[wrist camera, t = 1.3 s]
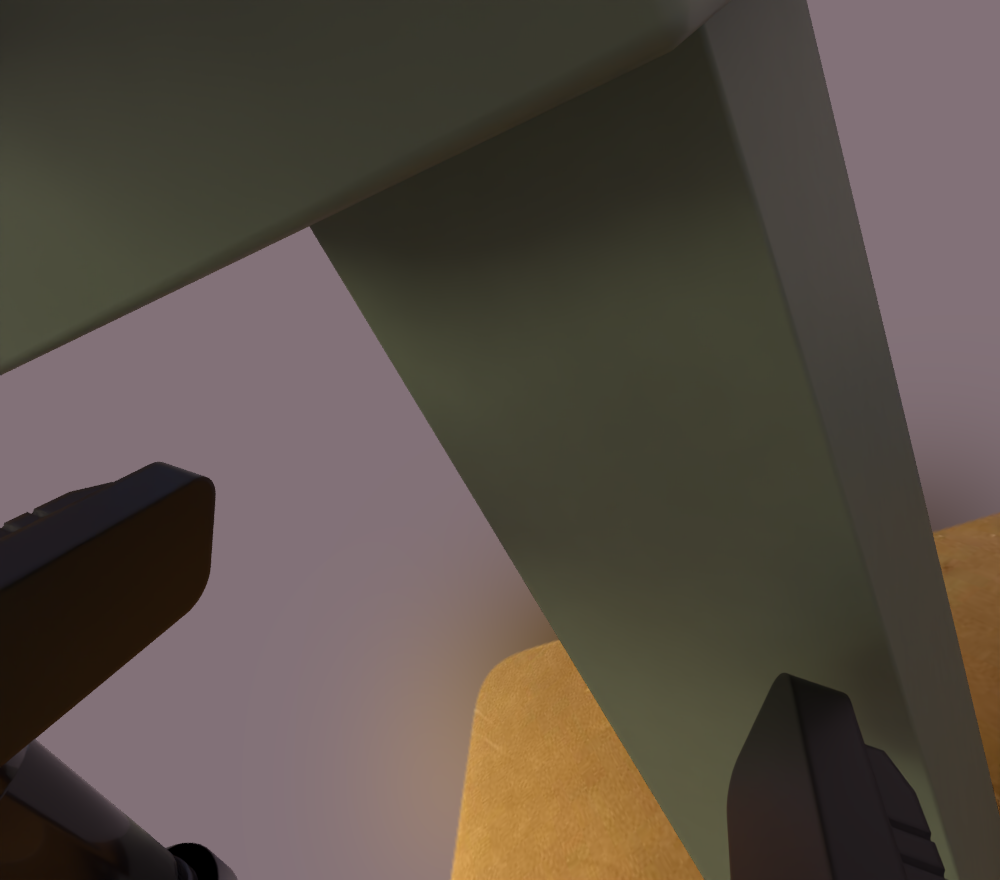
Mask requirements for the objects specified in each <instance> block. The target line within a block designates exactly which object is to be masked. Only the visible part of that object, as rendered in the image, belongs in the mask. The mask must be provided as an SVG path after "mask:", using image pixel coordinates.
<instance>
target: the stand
mask: <svg viewBox="0 0 1000 880" xmlns="http://www.w3.org/2000/svg"><path fill="white" fill-rule="evenodd" d="M308 226H310V228H311V229H312V231H313V233H314V235H315V236H316V238H317V239H318V241H319V243H320V245H321V246H322V248H323V249H324V251H325V253H326V254H327V256H328V258H329V259H330V261H331V263H332V264H333V266H334V268H335V269H336V271H337V273H338V274H339V276H340V278H341V279H342V281H343V283H344V284H345V286H346V288H347V289H348V291H349V292H350V294H351V296H352V297H353V299H354V301H355V302H356V304H357V306H358V307H359V309H360V310H361V312H362V314H363V316H364V317H365V319H366V321H367V322H368V324H369V326H370V327H371V329H372V330H373V332H374V334H375V335H376V337H377V339H378V340H379V342H380V344H381V345H382V347H383V348H384V350H385V352H386V354H387V355H388V357H389V359H390V360H391V362H392V363H393V365H394V367H395V368H396V370H397V372H398V374H399V375H400V377H401V378H402V380H403V382H404V383H405V385H406V387H407V388H408V390H409V392H410V393H411V395H412V397H413V398H414V400H415V402H416V403H417V405H418V407H419V408H420V410H421V411H422V413H423V415H424V417H425V418H426V420H427V421H428V423H429V425H430V426H431V428H432V430H433V431H434V433H435V435H436V436H437V438H438V440H439V441H440V443H441V445H442V446H443V448H444V449H445V451H446V453H447V455H448V456H449V458H450V460H451V461H452V463H453V464H454V466H455V467H456V469H457V471H458V473H459V474H460V476H461V478H462V479H463V481H464V483H465V484H466V486H467V487H468V489H469V491H470V493H471V494H472V496H473V498H474V499H475V501H476V503H477V504H478V505H479V507H480V509H481V511H482V512H483V514H484V516H485V517H486V519H487V521H488V522H489V524H490V526H491V527H492V529H493V531H494V532H495V534H496V536H497V537H498V539H499V541H500V542H501V544H502V545H503V547H504V549H505V550H506V552H507V554H508V555H509V557H510V559H511V560H512V562H513V564H514V565H515V567H516V569H517V570H518V572H519V574H520V575H521V577H522V579H523V580H524V582H525V584H526V585H527V587H528V588H529V590H530V592H531V594H532V595H533V597H534V598H535V600H536V602H537V603H538V605H539V607H540V608H541V610H542V612H543V613H544V615H545V616H546V618H547V620H548V621H549V623H550V625H551V626H552V628H553V630H554V631H555V633H556V635H557V636H558V638H559V640H560V641H561V643H562V645H563V646H564V648H565V650H566V651H567V653H568V655H569V656H570V658H571V660H572V661H573V663H574V665H575V666H576V668H577V670H578V671H579V673H580V675H581V676H582V678H583V680H584V681H585V683H586V684H587V686H588V688H589V689H590V691H591V693H592V694H593V696H594V698H595V699H596V701H597V703H598V704H599V706H600V708H601V709H602V711H603V713H604V714H605V716H606V718H607V719H608V721H609V723H610V724H611V726H612V727H613V729H614V731H615V732H616V734H617V736H618V737H619V739H620V741H621V742H622V744H623V746H624V747H625V749H626V751H627V752H628V754H629V756H630V757H631V759H632V761H633V762H634V764H635V766H636V767H637V769H638V770H639V772H640V774H641V775H642V777H643V779H644V780H645V782H646V784H647V785H648V787H649V789H650V790H651V792H652V794H653V795H654V797H655V799H656V800H657V802H658V804H659V805H660V807H661V809H662V810H663V812H664V813H665V815H666V817H667V818H668V820H669V822H670V823H671V825H672V827H673V828H674V830H675V832H676V833H677V835H678V837H679V838H680V840H681V842H682V843H683V845H684V847H685V848H686V850H687V852H688V853H689V855H690V856H691V858H692V860H693V861H694V863H695V865H696V866H697V868H698V870H699V871H700V873H701V875H702V876H703V878H704V880H731V879H730V862H729V846H728V829H727V796H728V789H729V784H730V779H731V775H732V771H733V768H734V765H735V763H736V760H737V758H738V756H739V754H740V751H741V749H742V747H743V745H744V743H745V741H746V739H747V737H748V734H749V732H750V730H751V728H752V726H753V724H754V722H755V720H756V718H757V715H758V713H759V711H760V709H761V707H762V705H763V703H764V701H765V698H766V696H767V694H768V692H769V690H770V688H771V686H772V684H773V682H774V681H775V679H776V678H777V677H778V675H780V674H781V673H788V674H791V675H794V676H797V677H800V678H803V679H806V680H808V681H811V682H814V683H817V684H820V685H823V686H826V687H829V688H832V689H835V690H838V691H841V692H844V693H846V694H847V695H848V697H849V698H850V700H851V703H852V706H853V709H854V712H855V715H856V718H857V721H858V725H859V728H860V731H861V734H862V737H863V740H864V743H865V744H866V745H869V746H872V747H875V748H878V749H881V750H884V751H885V752H886V754H887V755H888V756H889V758H890V759H891V760H892V762H893V763H894V764H895V766H896V767H897V768H898V769H899V771H900V772H901V773H902V775H903V776H904V777H905V779H906V780H907V781H908V783H909V784H910V785H911V786H912V788H913V789H914V790H915V792H916V794H917V797H918V799H919V802H920V805H921V807H922V810H923V813H924V815H925V818H926V820H927V823H928V826H929V828H930V831H931V838H930V839H931V841H932V842H935V844H936V847H937V849H938V852H939V855H940V857H941V860H942V863H943V865H944V868H945V873H944V878H945V879H948V880H1000V816H999V812H998V808H997V804H996V799H995V795H994V791H993V787H992V782H991V778H990V774H989V770H988V766H987V761H986V757H985V753H984V749H983V744H982V740H981V736H980V732H979V727H978V723H977V719H976V715H975V711H974V706H973V702H972V698H971V694H970V689H969V685H968V681H967V677H966V673H965V668H964V664H963V660H962V656H961V651H960V647H959V643H958V639H957V635H956V630H955V626H954V622H953V618H952V613H951V609H950V605H949V601H948V597H947V592H946V588H945V584H944V580H943V575H942V571H941V567H940V563H939V559H938V554H937V550H936V546H935V542H934V537H933V533H932V529H931V525H930V521H929V516H928V512H927V508H926V504H925V500H924V495H923V491H922V487H921V483H920V478H919V474H918V470H917V466H916V461H915V457H914V453H913V449H912V445H911V440H910V436H909V432H908V428H907V423H906V419H905V415H904V411H903V406H902V402H901V398H900V394H899V390H898V385H897V381H896V377H895V373H894V368H893V364H892V360H891V356H890V352H889V347H888V344H887V339H886V335H885V331H884V326H883V322H882V318H881V314H880V310H879V305H878V301H877V297H876V293H875V288H874V284H873V280H872V275H871V271H870V267H869V263H868V259H867V255H866V250H865V246H864V242H863V237H862V233H861V229H860V225H859V221H858V216H857V212H856V209H855V204H854V199H853V195H852V191H851V187H850V183H849V178H848V174H847V170H846V166H845V161H844V157H843V153H842V149H841V145H840V140H839V136H838V132H837V128H836V124H835V119H834V115H833V111H832V107H831V102H830V98H829V94H828V90H827V85H826V81H825V77H824V73H823V68H822V65H821V60H820V56H819V52H818V47H817V43H816V39H815V35H814V31H813V26H812V22H811V18H810V14H809V10H808V5H807V1H806V0H0V375H2V374H4V373H6V372H8V371H11V370H13V369H15V368H17V367H19V366H21V365H23V364H25V363H27V362H29V361H31V360H33V359H35V358H37V357H39V356H42V355H44V354H46V353H48V352H50V351H52V350H54V349H56V348H58V347H60V346H62V345H64V344H66V343H68V342H71V341H73V340H75V339H77V338H79V337H81V336H83V335H85V334H87V333H89V332H91V331H93V330H95V329H97V328H100V327H102V326H104V325H106V324H108V323H110V322H112V321H114V320H116V319H118V318H120V317H122V316H124V315H126V314H128V313H131V312H133V311H135V310H137V309H139V308H141V307H143V306H145V305H147V304H149V303H151V302H153V301H155V300H157V299H159V298H162V297H163V296H166V295H168V294H169V293H172V292H174V291H176V290H178V289H180V288H182V287H184V286H186V285H188V284H190V283H193V282H195V281H197V280H199V279H201V278H203V277H205V276H207V275H209V274H211V273H213V272H215V271H217V270H219V269H221V268H223V267H225V266H228V265H230V264H232V263H234V262H236V261H238V260H240V259H242V258H244V257H246V256H248V255H251V254H253V253H255V252H257V251H258V250H261V249H263V248H265V247H267V246H269V245H271V244H273V243H275V242H277V241H279V240H282V239H283V238H286V237H288V236H290V235H292V234H294V233H296V232H298V231H300V230H302V229H304V228H306V227H308Z"/></svg>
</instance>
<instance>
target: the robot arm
mask: <svg viewBox="0 0 1000 880" xmlns="http://www.w3.org/2000/svg"><path fill="white" fill-rule="evenodd" d="M214 511H215V487H214V484H213V482H212V480H210V479H209V478H207V477H204V476H201V475H199V474H196V473H193V472H190V471H187V470H184V469H181V468H178V467H175V466H172V465H169V464H166V463H163V462H155V463H152V464H150V465H147V466H145V467H143V468H142V469H140V470H138V471H135V472H133V473H131V474H129V475H127V476H125V477H123V478H121V479H120V480H118V481H115V482H111V483H106V484H102V485H98V486H94V487H89V488H85V489H80V490H76V491H72V492H69V493H66V494H64V495H62V496H60V497H58V498H56V499H54V500H52V501H50V502H48V503H45V504H43V505H41V506H39V507H37V508H35V509H34V511H33V513H32V514H30V513H28V512H27V513H24V514H22V515H20V516H18V517H16V518H14V519H12V520H10V521H8V522H6V523H4V526H3V527H2V528H0V880H198V877H197V875H196V873H195V871H194V870H193V868H192V867H190V866H189V865H188V864H187V863H186V862H185V861H183V860H182V859H181V858H179V857H177V856H174V855H173V854H172V853H170V852H169V851H168V850H167V849H166V848H164V847H163V846H162V845H161V844H160V843H159V842H157V841H156V840H155V839H154V838H153V837H151V836H150V835H149V834H148V833H147V832H146V831H145V830H143V829H142V828H141V827H140V826H139V825H137V824H136V823H135V822H134V821H133V820H131V819H130V818H129V817H128V816H127V815H125V814H124V813H123V812H122V811H121V810H119V809H118V808H117V807H116V806H115V805H114V804H112V803H111V802H110V801H109V800H107V799H106V798H105V797H104V796H103V795H101V794H100V793H99V792H98V791H97V790H96V789H94V788H93V787H92V786H91V785H90V784H88V783H87V782H86V781H85V780H84V779H82V778H81V777H80V776H79V775H78V774H76V773H75V772H74V771H73V770H72V769H70V768H69V767H68V766H67V765H66V764H64V763H63V762H62V761H61V760H60V759H58V758H57V757H56V756H55V755H54V754H52V753H51V752H50V751H49V750H48V749H46V748H45V747H44V746H43V745H42V744H40V743H39V742H38V741H37V740H36V739H35V738H37V737H38V736H39V735H40V734H41V733H43V732H44V731H45V730H46V729H47V728H49V727H50V726H51V725H52V724H54V723H55V722H56V721H57V720H58V719H60V718H61V717H62V716H63V715H64V714H66V713H67V712H68V711H69V710H70V709H72V708H73V707H74V706H75V705H76V704H78V703H79V702H80V701H81V700H83V698H85V697H86V696H87V695H89V694H90V693H91V692H92V691H93V690H95V689H96V688H97V687H98V686H99V685H101V684H102V683H103V682H104V681H106V680H107V679H108V678H109V677H110V676H112V675H113V674H114V673H115V672H116V671H117V670H119V669H120V668H121V667H122V666H124V665H125V664H126V663H127V662H128V661H130V660H131V659H132V658H133V657H134V656H136V655H137V654H138V653H139V652H140V651H142V650H143V649H144V648H145V647H147V646H148V645H149V644H150V643H151V642H153V641H154V640H155V639H156V638H157V637H159V636H160V635H161V634H162V633H164V632H165V631H166V630H167V629H168V628H170V627H171V626H172V625H173V624H174V623H175V622H177V621H178V620H179V619H180V618H182V617H183V616H184V615H185V614H186V613H188V612H189V611H190V610H191V609H192V607H193V606H194V605H195V604H196V603H197V601H198V600H199V598H200V597H201V595H202V593H203V591H204V589H205V587H206V584H207V581H208V578H209V574H210V568H211V553H212V540H213V525H214ZM727 829H728V846H729V862H730V879H731V880H948V879H945V878H944V873H945V868H944V865H943V863H942V860H941V857H940V855H939V852H938V849H937V847H936V844H935V842H932V841H931V839H930V838H931V831H930V828H929V826H928V823H927V820H926V818H925V815H924V813H923V810H922V807H921V805H920V802H919V799H918V797H917V794H916V792H915V790H914V789H913V788H912V786H911V785H910V784H909V783H908V781H907V780H906V779H905V777H904V776H903V775H902V773H901V772H900V771H899V769H898V768H897V767H896V766H895V764H894V763H893V762H892V760H891V759H890V758H889V756H888V755H887V754H886V752H885V751H884V750H881V749H878V748H875V747H872V746H869V745H866V744H865V743H864V740H863V737H862V734H861V731H860V728H859V725H858V721H857V718H856V715H855V712H854V709H853V706H852V703H851V700H850V698H849V697H848V695H847V694H846V693H844V692H841V691H838V690H835V689H832V688H829V687H826V686H823V685H820V684H817V683H814V682H811V681H808V680H806V679H803V678H800V677H797V676H794V675H791V674H788V673H781V674H780V675H778V677H777V678H776V679H775V681H774V682H773V684H772V686H771V688H770V690H769V692H768V694H767V696H766V698H765V701H764V703H763V705H762V707H761V709H760V711H759V713H758V715H757V718H756V720H755V722H754V724H753V726H752V728H751V730H750V732H749V734H748V737H747V739H746V741H745V743H744V745H743V747H742V749H741V751H740V754H739V756H738V758H737V760H736V763H735V765H734V768H733V771H732V775H731V779H730V784H729V789H728V796H727Z"/></svg>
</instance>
